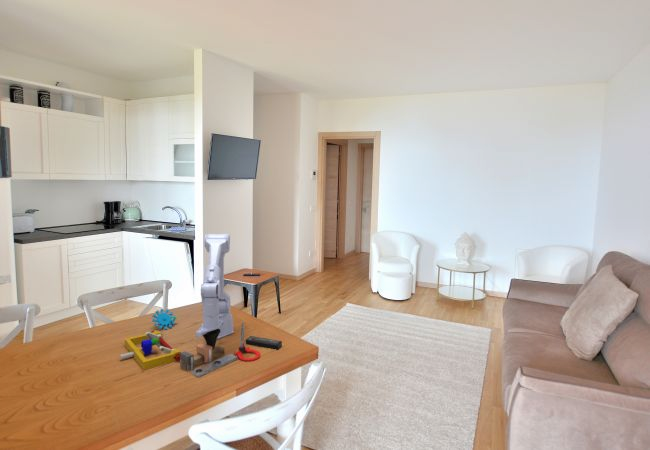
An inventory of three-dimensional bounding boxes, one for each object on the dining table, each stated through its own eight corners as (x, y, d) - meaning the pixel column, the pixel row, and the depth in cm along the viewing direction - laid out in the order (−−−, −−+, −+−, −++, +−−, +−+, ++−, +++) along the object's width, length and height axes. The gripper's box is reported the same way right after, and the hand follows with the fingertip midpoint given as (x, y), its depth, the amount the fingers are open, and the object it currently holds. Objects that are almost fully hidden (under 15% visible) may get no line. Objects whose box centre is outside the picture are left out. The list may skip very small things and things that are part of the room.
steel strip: (230, 356, 151) (230, 353, 151) (237, 359, 149) (237, 356, 148) (191, 373, 137) (191, 370, 137) (198, 377, 135) (198, 374, 135)
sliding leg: (203, 356, 150) (203, 342, 149) (213, 361, 147) (213, 347, 146) (196, 359, 148) (196, 345, 147) (207, 364, 144) (206, 350, 143)
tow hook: (264, 357, 152) (249, 349, 158) (265, 325, 150) (250, 318, 156) (247, 365, 145) (231, 356, 151) (248, 332, 143) (232, 324, 149)
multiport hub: (277, 350, 157) (277, 345, 157) (245, 345, 162) (245, 339, 162) (282, 346, 162) (282, 341, 161) (250, 340, 166) (250, 335, 166)
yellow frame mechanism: (157, 321, 169) (183, 345, 146) (157, 335, 170) (184, 361, 147) (109, 331, 157) (130, 359, 134) (110, 346, 158) (130, 376, 135)
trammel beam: (217, 350, 155) (217, 338, 154) (227, 355, 152) (227, 342, 151) (179, 367, 141) (179, 353, 141) (189, 372, 138) (188, 358, 137)
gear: (154, 329, 170) (151, 308, 175) (150, 335, 173) (147, 315, 178) (180, 326, 177) (176, 307, 182) (175, 333, 181) (171, 313, 186)
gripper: (214, 306, 156) (214, 339, 157) (188, 318, 142) (189, 354, 144) (229, 309, 153) (229, 342, 155) (204, 321, 140) (205, 358, 141)
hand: (211, 348), depth 149 cm, fingers closed
